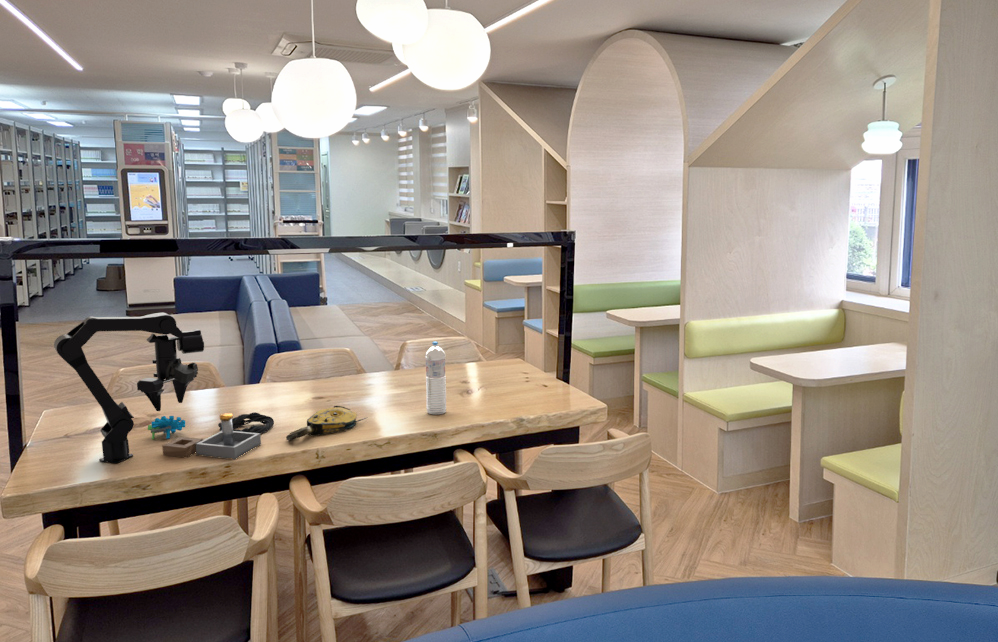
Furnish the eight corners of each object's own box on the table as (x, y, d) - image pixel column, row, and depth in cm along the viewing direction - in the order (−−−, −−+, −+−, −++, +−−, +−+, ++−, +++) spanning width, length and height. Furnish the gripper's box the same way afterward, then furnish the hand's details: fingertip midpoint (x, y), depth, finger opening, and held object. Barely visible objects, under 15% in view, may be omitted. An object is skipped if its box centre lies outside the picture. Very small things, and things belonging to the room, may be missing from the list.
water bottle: (431, 408, 261) (429, 339, 256) (449, 410, 259) (448, 340, 254) (423, 414, 254) (421, 343, 250) (441, 416, 252) (440, 344, 248)
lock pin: (230, 449, 218) (227, 417, 216) (220, 448, 219) (216, 416, 217) (238, 445, 221) (234, 413, 220) (228, 444, 222) (224, 412, 221)
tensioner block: (186, 457, 214) (185, 447, 213) (163, 455, 216) (162, 445, 215) (204, 448, 221) (203, 438, 221) (181, 446, 224) (180, 436, 223)
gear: (190, 425, 238) (179, 411, 230) (189, 442, 235) (178, 428, 226) (154, 432, 236) (142, 417, 228) (153, 448, 233) (141, 435, 225)
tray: (235, 459, 212) (234, 447, 212) (196, 455, 216) (195, 443, 215) (261, 444, 225) (260, 433, 224) (224, 440, 228) (223, 429, 228)
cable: (269, 421, 248) (268, 409, 248) (281, 432, 237) (280, 419, 236) (215, 430, 239) (214, 417, 238) (225, 442, 228) (224, 429, 227)
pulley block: (271, 420, 227) (339, 397, 253) (270, 438, 229) (338, 413, 254) (305, 435, 221) (371, 410, 246) (303, 453, 222) (369, 426, 247)
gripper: (166, 364, 206) (170, 418, 209) (210, 351, 224) (213, 401, 226) (133, 361, 209) (137, 414, 212) (179, 348, 227) (182, 397, 230)
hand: (169, 406), depth 220 cm, fingers open, 9 cm apart
